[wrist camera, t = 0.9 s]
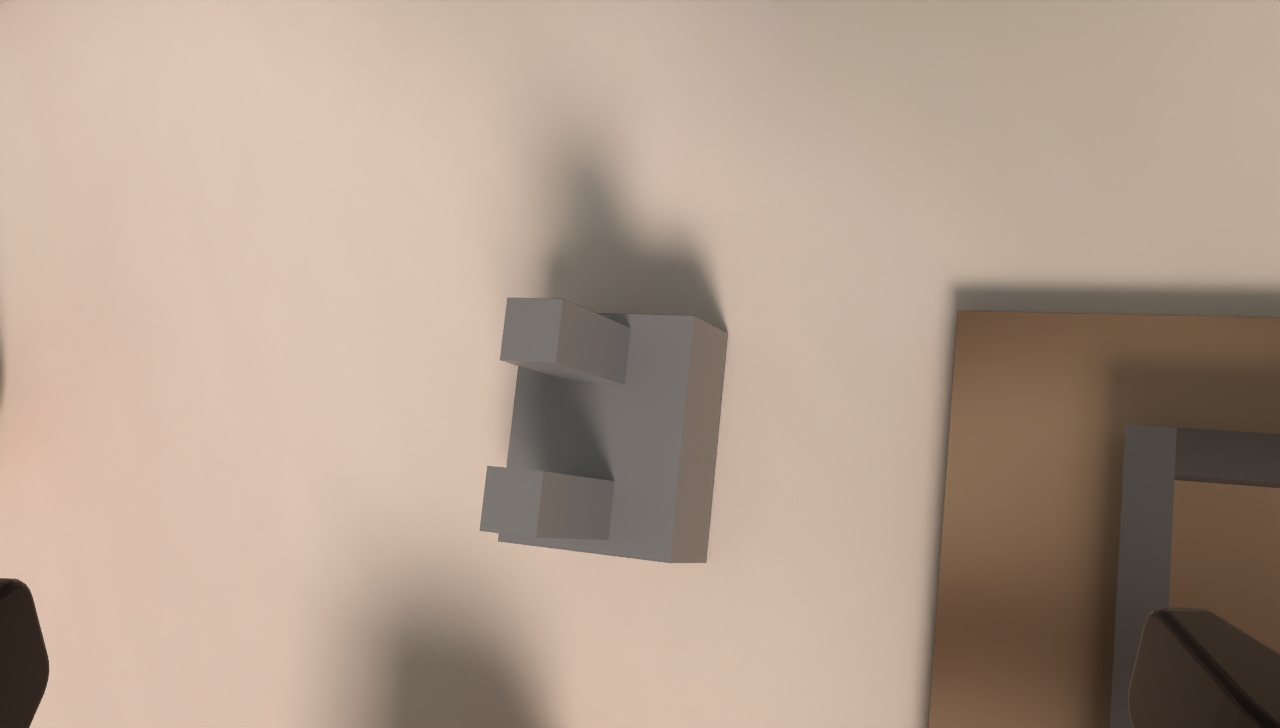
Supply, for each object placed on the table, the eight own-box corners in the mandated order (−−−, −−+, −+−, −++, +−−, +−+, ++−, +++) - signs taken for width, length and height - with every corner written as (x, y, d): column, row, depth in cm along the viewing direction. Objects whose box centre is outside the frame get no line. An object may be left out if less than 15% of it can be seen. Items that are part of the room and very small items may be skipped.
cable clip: (706, 562, 25) (602, 563, 20) (543, 542, 26) (415, 539, 22) (727, 333, 25) (632, 283, 21) (567, 327, 27) (447, 281, 22)
